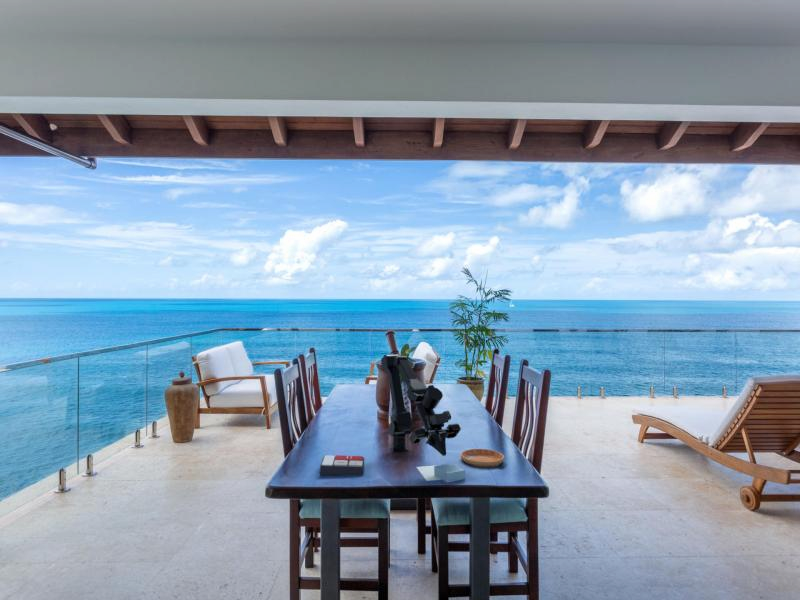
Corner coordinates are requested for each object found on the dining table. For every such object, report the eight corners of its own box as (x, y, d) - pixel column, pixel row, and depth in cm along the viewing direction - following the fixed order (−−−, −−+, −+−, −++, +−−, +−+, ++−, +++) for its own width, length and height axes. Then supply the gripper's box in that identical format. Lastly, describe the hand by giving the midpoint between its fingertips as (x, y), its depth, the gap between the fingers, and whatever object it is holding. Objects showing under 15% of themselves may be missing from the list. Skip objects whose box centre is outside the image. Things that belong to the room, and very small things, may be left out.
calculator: (363, 465, 157) (320, 463, 157) (363, 477, 157) (319, 476, 157) (364, 455, 168) (323, 453, 168) (363, 466, 168) (323, 465, 168)
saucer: (466, 453, 181) (466, 446, 181) (506, 458, 175) (506, 450, 175) (456, 466, 166) (456, 458, 166) (500, 472, 160) (500, 464, 160)
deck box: (434, 466, 156) (447, 473, 149) (451, 462, 159) (464, 469, 152) (434, 474, 156) (447, 482, 149) (451, 471, 159) (464, 479, 152)
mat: (416, 468, 163) (416, 467, 163) (450, 465, 166) (450, 464, 166) (426, 482, 150) (426, 480, 150) (463, 479, 153) (463, 477, 153)
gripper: (413, 406, 157) (430, 446, 147) (457, 401, 166) (476, 438, 156) (402, 424, 164) (418, 464, 154) (446, 418, 173) (463, 455, 162)
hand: (444, 455), depth 156 cm, fingers closed
